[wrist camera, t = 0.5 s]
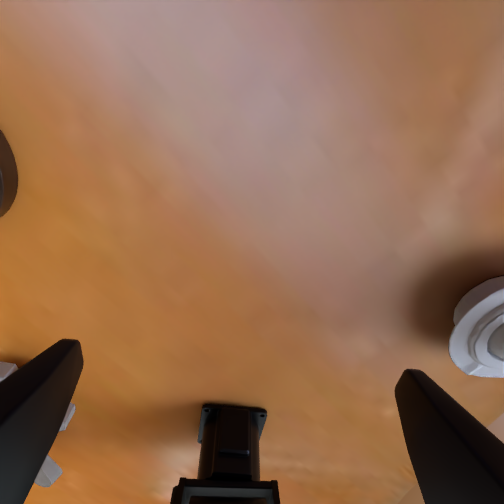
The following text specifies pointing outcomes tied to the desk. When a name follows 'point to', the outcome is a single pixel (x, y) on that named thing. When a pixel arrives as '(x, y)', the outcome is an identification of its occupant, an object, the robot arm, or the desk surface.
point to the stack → (7, 176)
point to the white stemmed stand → (480, 330)
